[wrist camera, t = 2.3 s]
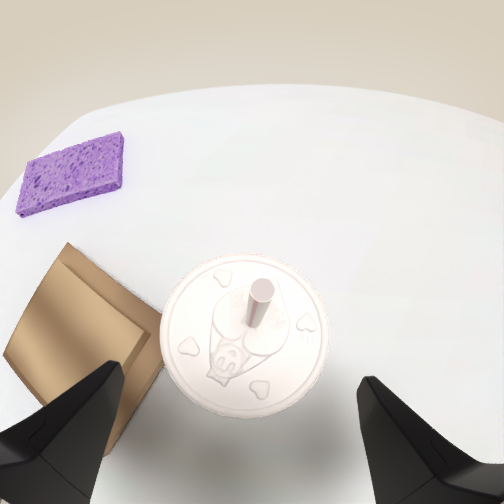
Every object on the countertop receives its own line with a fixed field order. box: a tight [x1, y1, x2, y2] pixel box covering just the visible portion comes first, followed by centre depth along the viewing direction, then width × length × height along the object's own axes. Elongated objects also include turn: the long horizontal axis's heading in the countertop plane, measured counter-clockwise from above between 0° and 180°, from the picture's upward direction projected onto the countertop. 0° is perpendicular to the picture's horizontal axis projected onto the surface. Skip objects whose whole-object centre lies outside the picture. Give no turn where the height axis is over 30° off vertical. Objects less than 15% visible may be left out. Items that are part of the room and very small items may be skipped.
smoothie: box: [160, 253, 330, 419], centre depth 12 cm, size 6×6×14 cm
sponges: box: [15, 131, 124, 218], centre depth 23 cm, size 7×13×2 cm, turn 102°
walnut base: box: [3, 242, 165, 457], centre depth 16 cm, size 12×12×3 cm
